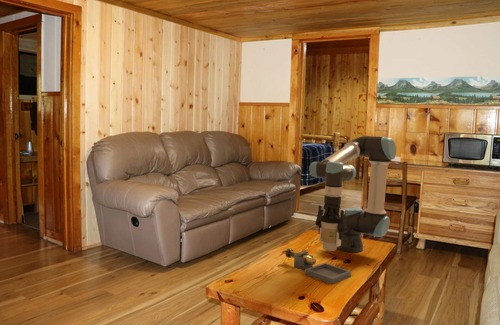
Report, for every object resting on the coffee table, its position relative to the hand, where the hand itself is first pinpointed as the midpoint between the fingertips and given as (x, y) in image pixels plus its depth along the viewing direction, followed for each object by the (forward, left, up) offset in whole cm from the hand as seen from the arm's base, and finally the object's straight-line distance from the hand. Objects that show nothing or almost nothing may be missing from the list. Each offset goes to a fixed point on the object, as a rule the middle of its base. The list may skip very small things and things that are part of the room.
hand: (329, 243), depth 189 cm
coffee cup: (0, 0, -3) cm, 3 cm away
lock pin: (+1, -16, -13) cm, 20 cm away
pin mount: (+1, -14, -15) cm, 21 cm away
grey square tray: (0, 0, -15) cm, 15 cm away
